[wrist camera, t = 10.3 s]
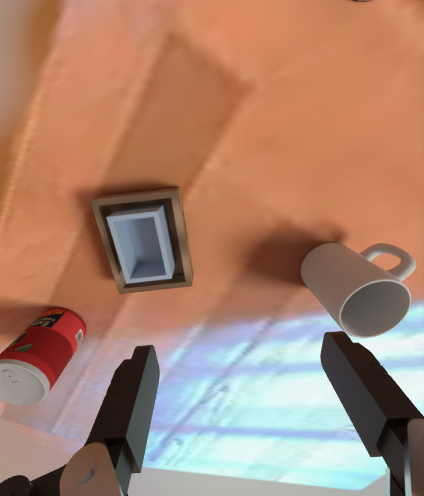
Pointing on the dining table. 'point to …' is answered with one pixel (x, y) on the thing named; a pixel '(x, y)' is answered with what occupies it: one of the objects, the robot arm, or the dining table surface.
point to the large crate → (176, 220)
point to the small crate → (143, 242)
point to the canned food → (39, 356)
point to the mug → (359, 287)
